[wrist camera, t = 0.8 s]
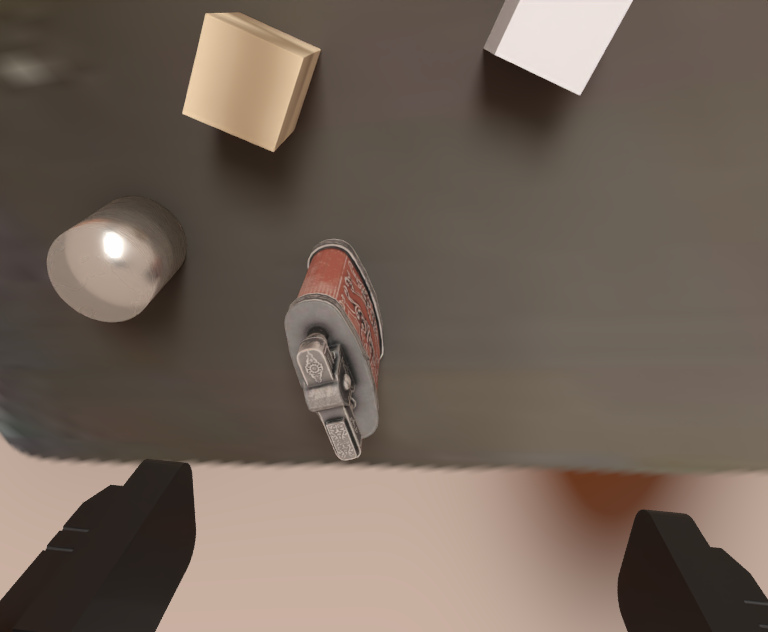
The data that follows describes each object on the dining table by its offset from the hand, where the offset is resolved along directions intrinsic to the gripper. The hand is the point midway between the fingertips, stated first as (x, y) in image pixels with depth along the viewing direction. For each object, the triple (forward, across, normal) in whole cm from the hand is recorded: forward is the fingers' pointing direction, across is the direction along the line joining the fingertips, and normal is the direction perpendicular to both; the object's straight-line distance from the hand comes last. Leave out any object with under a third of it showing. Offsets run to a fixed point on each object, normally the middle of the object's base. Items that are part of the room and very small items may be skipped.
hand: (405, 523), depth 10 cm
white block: (+21, -5, -11) cm, 24 cm away
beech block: (+21, +8, -8) cm, 24 cm away
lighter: (+23, +4, +4) cm, 24 cm away
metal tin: (+22, +15, +1) cm, 27 cm away
